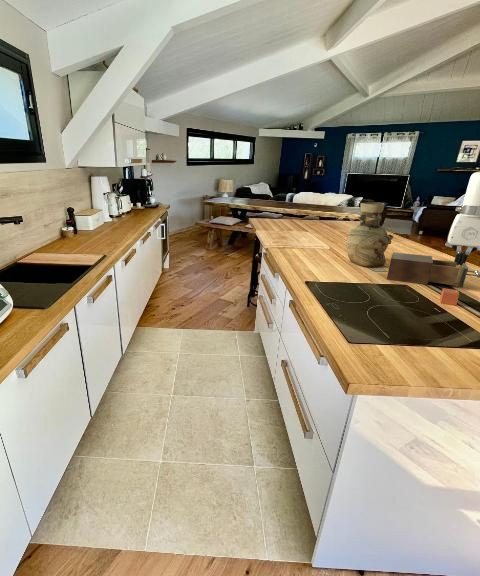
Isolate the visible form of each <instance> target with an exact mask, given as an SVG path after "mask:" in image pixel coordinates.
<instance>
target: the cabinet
mask: <svg viewBox="0 0 480 576" xmlns="http://www.w3.org/2000/svg"><path fill="white" fill-rule="evenodd" d="M432 259H433V256H432V255H423V254H414V253H406V252H405V253H403V252H395V251H394V252H392V254H391V257H390V262H389V266H388V271H387V275H386V281H387V280H388V281H395V282H402V283H409V284H416V285H421V286H422V285H423V286H428V285H429V282H428V281H429V277H430V273H431V269H432V265H433V260H434V259H433V260H432Z"/></svg>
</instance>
